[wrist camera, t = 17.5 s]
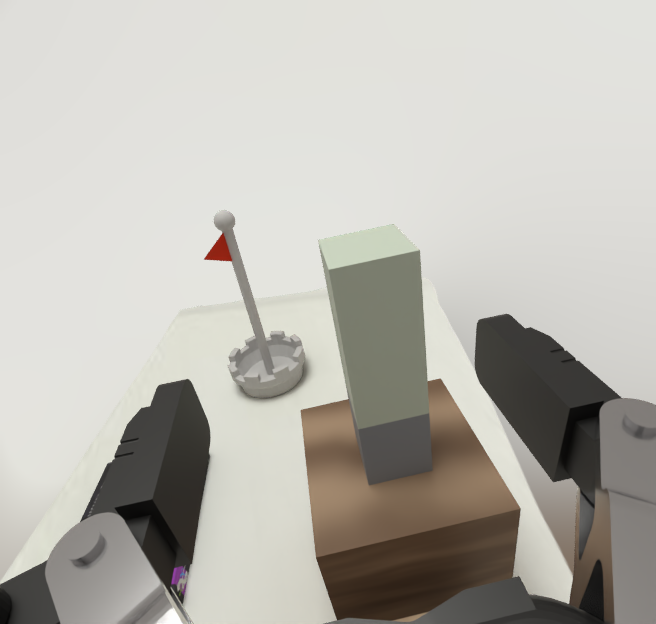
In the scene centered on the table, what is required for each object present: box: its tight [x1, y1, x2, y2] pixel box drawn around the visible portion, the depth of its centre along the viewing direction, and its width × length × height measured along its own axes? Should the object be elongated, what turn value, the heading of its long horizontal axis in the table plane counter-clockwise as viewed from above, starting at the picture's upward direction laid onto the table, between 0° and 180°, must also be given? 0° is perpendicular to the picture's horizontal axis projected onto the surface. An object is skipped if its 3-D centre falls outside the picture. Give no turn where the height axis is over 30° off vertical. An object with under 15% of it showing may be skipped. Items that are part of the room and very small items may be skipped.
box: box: [318, 224, 433, 485], centre depth 28 cm, size 5×5×18 cm
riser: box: [301, 379, 521, 621], centre depth 36 cm, size 14×14×16 cm
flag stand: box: [205, 210, 305, 398], centre depth 62 cm, size 13×13×30 cm
